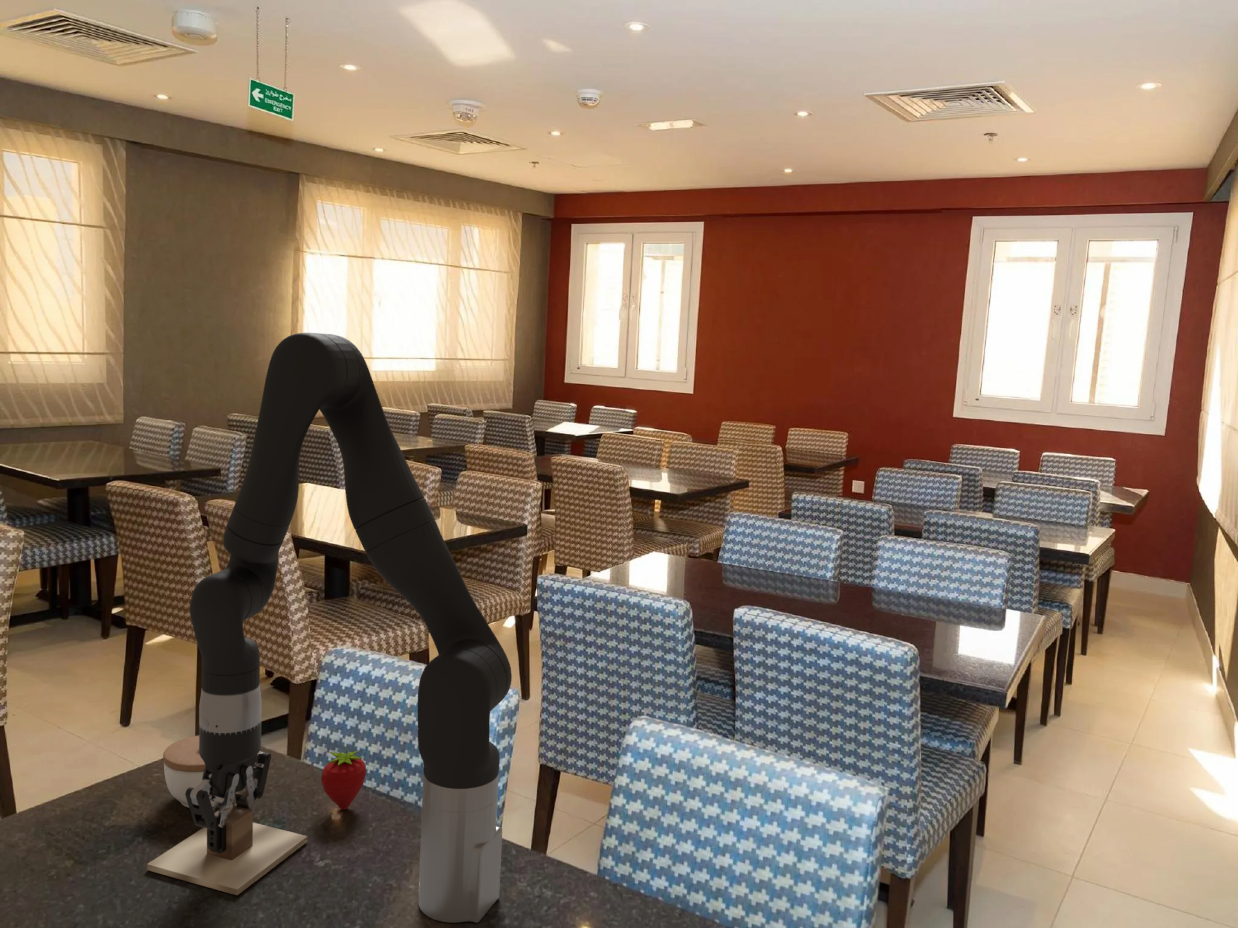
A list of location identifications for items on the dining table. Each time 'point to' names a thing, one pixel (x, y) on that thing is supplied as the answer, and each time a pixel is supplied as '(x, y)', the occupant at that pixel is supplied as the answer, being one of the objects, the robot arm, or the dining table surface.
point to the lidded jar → (183, 767)
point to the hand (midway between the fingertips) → (229, 841)
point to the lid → (229, 854)
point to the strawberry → (343, 778)
